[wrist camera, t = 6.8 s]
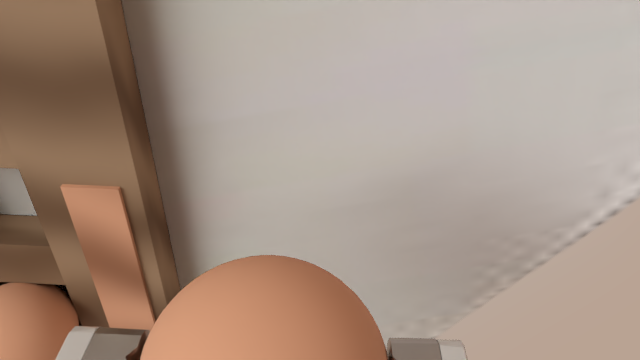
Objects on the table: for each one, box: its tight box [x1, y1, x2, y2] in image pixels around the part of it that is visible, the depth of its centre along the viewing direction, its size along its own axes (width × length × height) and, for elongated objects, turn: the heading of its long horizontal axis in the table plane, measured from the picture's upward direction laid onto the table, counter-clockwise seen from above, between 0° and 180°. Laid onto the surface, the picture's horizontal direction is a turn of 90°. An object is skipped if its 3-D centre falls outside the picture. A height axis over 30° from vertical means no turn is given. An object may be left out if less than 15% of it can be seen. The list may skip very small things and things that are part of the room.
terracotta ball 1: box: [0, 282, 79, 360], centre depth 26 cm, size 5×5×5 cm
